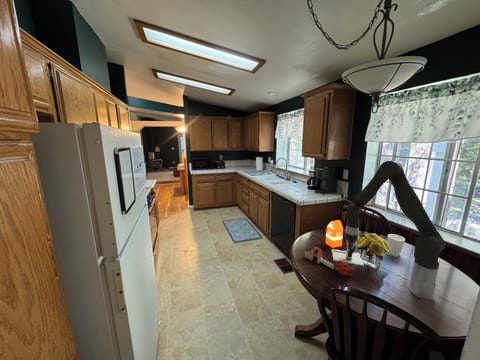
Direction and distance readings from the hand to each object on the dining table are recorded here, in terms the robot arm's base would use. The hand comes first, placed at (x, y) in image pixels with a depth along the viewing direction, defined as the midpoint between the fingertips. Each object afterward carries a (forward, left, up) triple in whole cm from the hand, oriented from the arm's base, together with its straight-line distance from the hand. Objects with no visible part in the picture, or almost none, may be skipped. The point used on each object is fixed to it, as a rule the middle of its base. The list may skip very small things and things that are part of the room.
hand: (349, 255), depth 133 cm
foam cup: (+18, -31, -4) cm, 36 cm away
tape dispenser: (-7, +20, -4) cm, 21 cm away
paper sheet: (+3, +1, -4) cm, 5 cm away
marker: (0, 0, -3) cm, 3 cm away
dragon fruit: (-16, +5, -4) cm, 17 cm away
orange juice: (+19, +8, -4) cm, 21 cm away
